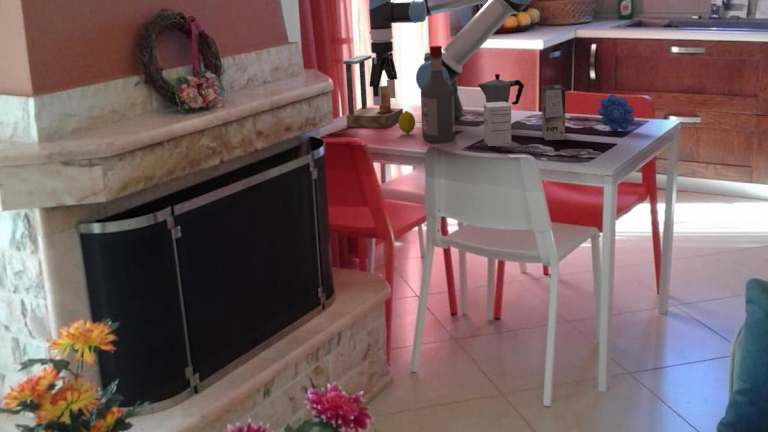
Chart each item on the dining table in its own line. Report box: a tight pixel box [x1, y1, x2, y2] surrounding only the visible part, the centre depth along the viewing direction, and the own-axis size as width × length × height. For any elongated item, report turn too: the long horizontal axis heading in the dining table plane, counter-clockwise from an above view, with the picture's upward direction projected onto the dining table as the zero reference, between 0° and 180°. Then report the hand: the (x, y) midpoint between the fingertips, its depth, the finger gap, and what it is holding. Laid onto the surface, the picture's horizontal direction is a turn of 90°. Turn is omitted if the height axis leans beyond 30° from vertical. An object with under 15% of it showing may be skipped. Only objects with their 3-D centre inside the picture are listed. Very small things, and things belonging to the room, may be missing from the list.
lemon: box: [398, 110, 416, 135], centre depth 296 cm, size 6×6×8 cm
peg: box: [378, 85, 392, 114], centre depth 315 cm, size 4×4×13 cm
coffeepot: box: [477, 73, 525, 127], centre depth 299 cm, size 15×9×18 cm, turn 92°
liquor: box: [420, 45, 456, 144], centre depth 283 cm, size 9×9×30 cm
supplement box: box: [483, 102, 512, 147], centre depth 277 cm, size 7×7×13 cm
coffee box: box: [541, 83, 566, 141], centre depth 281 cm, size 9×6×16 cm
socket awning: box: [342, 54, 404, 129], centre depth 315 cm, size 16×14×23 cm
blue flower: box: [596, 93, 635, 132], centre depth 284 cm, size 12×7×12 cm, turn 72°
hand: (384, 101), depth 314 cm, fingers open, 13 cm apart
